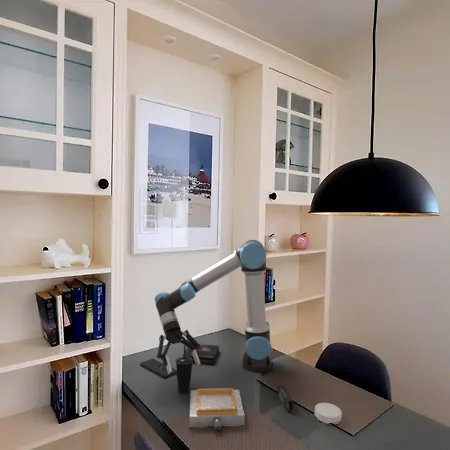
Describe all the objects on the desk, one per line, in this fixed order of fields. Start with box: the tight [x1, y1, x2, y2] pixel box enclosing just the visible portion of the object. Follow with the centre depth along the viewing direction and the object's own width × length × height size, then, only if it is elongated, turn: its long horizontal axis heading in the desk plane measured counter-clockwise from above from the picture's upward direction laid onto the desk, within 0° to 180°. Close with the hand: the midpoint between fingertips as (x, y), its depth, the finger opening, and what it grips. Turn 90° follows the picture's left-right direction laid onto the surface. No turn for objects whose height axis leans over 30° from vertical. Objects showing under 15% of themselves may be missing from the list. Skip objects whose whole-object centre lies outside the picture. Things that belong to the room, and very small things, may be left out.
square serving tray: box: [189, 387, 246, 432], centre depth 132 cm, size 20×21×6 cm
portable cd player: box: [181, 343, 220, 366], centre depth 184 cm, size 16×17×4 cm
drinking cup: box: [175, 344, 194, 395], centre depth 148 cm, size 8×8×20 cm
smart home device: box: [139, 358, 177, 380], centre depth 168 cm, size 8×2×20 cm
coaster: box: [314, 402, 343, 423], centre depth 132 cm, size 10×10×4 cm
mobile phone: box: [277, 384, 296, 415], centre depth 140 cm, size 5×3×15 cm
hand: (184, 368), depth 147 cm, fingers open, 13 cm apart
